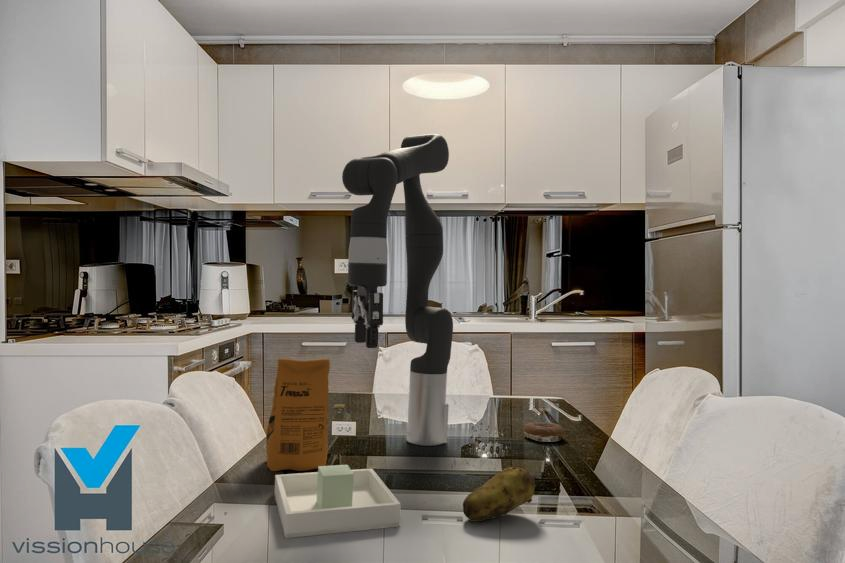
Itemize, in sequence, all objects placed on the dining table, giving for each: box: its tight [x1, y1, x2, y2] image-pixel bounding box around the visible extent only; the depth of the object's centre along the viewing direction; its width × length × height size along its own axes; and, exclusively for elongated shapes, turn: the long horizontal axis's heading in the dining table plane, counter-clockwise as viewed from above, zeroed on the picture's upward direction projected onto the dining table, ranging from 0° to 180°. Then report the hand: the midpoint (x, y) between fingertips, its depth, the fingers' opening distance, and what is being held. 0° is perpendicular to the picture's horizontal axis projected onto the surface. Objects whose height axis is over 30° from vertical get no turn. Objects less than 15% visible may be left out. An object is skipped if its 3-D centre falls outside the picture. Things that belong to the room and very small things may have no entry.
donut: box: [523, 422, 565, 438], centre depth 146 cm, size 11×11×4 cm
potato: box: [462, 466, 536, 522], centre depth 93 cm, size 8×13×8 cm, turn 99°
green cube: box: [316, 464, 354, 509], centre depth 92 cm, size 5×5×6 cm
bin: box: [273, 468, 402, 539], centre depth 92 cm, size 18×18×4 cm
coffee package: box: [265, 357, 331, 472], centre depth 115 cm, size 10×12×22 cm
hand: (365, 345), depth 108 cm, fingers open, 8 cm apart
